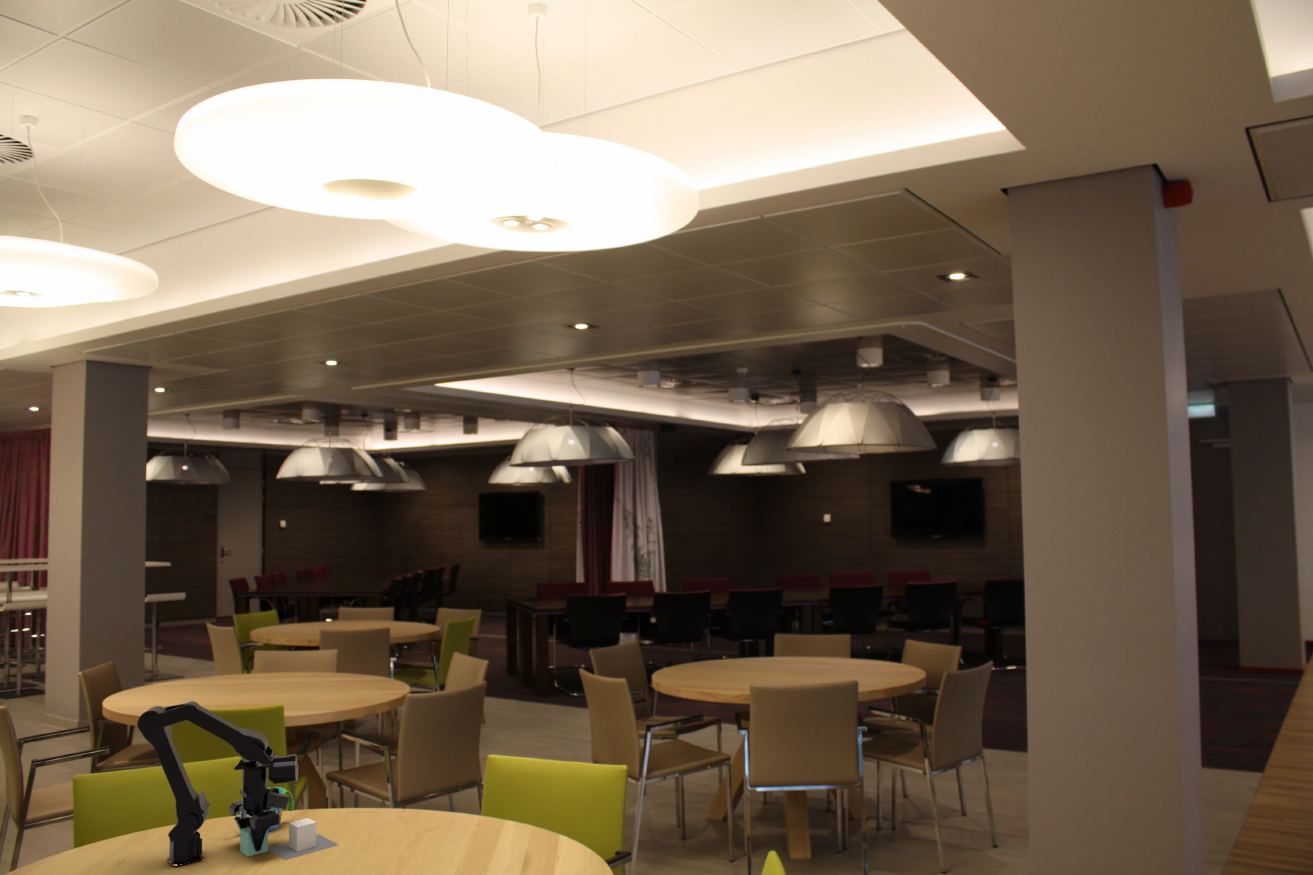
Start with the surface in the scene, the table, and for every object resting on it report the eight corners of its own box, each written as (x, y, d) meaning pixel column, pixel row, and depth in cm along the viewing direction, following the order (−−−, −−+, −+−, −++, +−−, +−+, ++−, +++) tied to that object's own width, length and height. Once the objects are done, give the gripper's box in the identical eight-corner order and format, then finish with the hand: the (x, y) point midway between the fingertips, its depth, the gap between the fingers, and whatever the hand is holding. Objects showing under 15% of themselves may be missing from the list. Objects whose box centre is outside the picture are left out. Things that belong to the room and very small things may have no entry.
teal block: (247, 858, 235) (247, 833, 236) (240, 853, 239) (240, 829, 239) (267, 852, 239) (267, 828, 239) (260, 848, 242) (260, 824, 243)
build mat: (284, 862, 232) (284, 859, 232) (265, 850, 241) (265, 847, 241) (339, 847, 242) (339, 844, 242) (318, 836, 250) (318, 833, 250)
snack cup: (285, 818, 266) (285, 781, 266) (301, 827, 258) (301, 789, 259) (228, 832, 255) (228, 794, 255) (242, 842, 247) (243, 802, 248)
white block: (297, 851, 238) (297, 826, 238) (288, 846, 241) (289, 822, 242) (316, 846, 241) (316, 822, 242) (307, 841, 245) (308, 817, 245)
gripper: (300, 785, 239) (300, 848, 238) (271, 771, 252) (271, 831, 251) (256, 795, 231) (255, 860, 230) (228, 780, 244) (228, 842, 243)
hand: (254, 848), depth 239 cm, fingers closed on teal block, 5 cm apart
